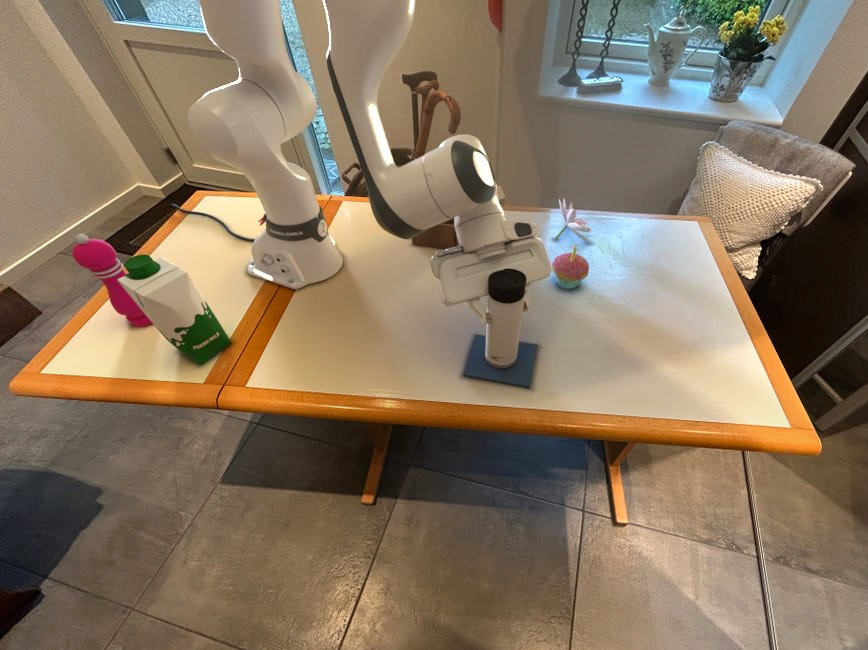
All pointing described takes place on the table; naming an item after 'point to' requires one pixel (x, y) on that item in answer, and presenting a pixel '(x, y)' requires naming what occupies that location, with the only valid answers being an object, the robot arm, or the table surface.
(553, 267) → the cupcake
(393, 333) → the table surface
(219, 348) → the milk carton
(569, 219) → the water lily
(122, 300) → the pepper mill
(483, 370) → the mat
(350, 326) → the table surface
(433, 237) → the cubby
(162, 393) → the table surface
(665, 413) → the table surface
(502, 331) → the travel mug
